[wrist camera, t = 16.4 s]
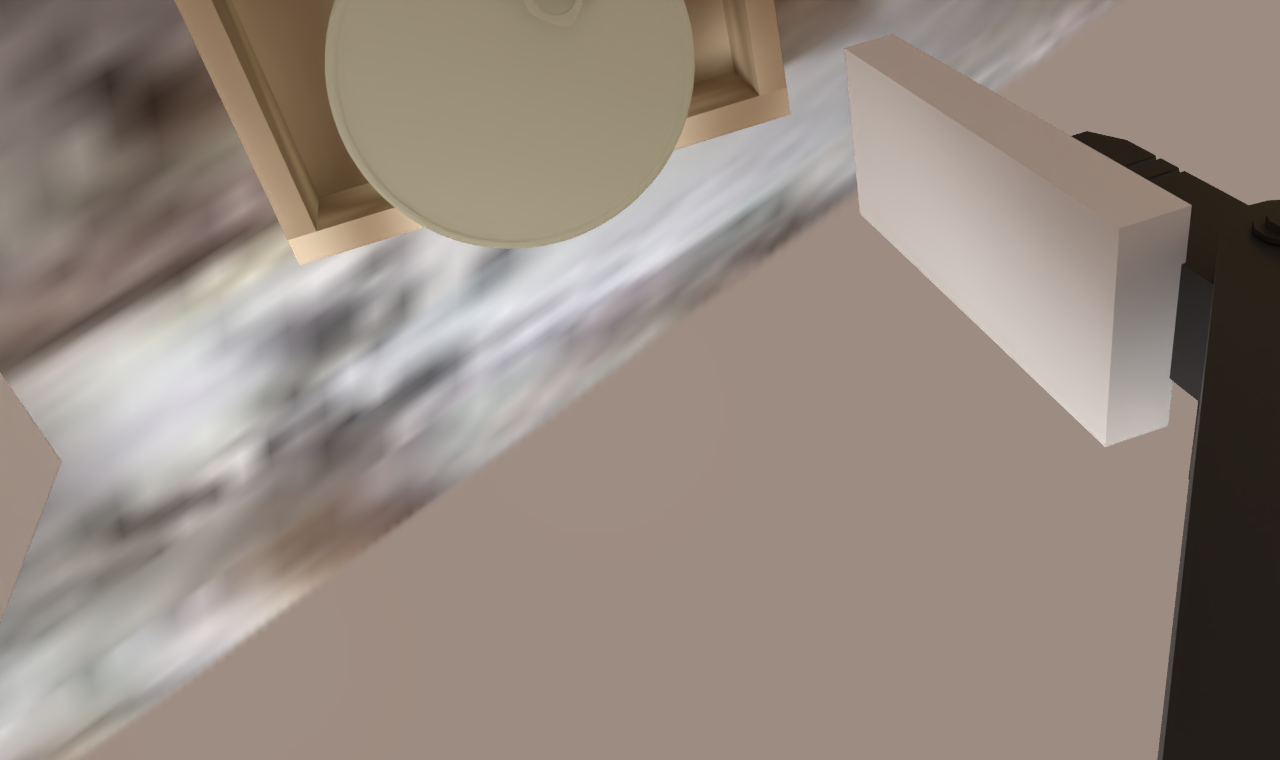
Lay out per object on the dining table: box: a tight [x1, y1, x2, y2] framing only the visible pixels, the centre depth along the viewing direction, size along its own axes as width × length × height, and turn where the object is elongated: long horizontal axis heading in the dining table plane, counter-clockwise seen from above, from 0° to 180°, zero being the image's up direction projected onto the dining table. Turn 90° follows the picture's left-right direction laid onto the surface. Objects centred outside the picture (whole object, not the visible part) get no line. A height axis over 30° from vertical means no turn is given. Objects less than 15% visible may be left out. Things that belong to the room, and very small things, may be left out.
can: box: [325, 0, 695, 249], centre depth 30 cm, size 9×9×12 cm
